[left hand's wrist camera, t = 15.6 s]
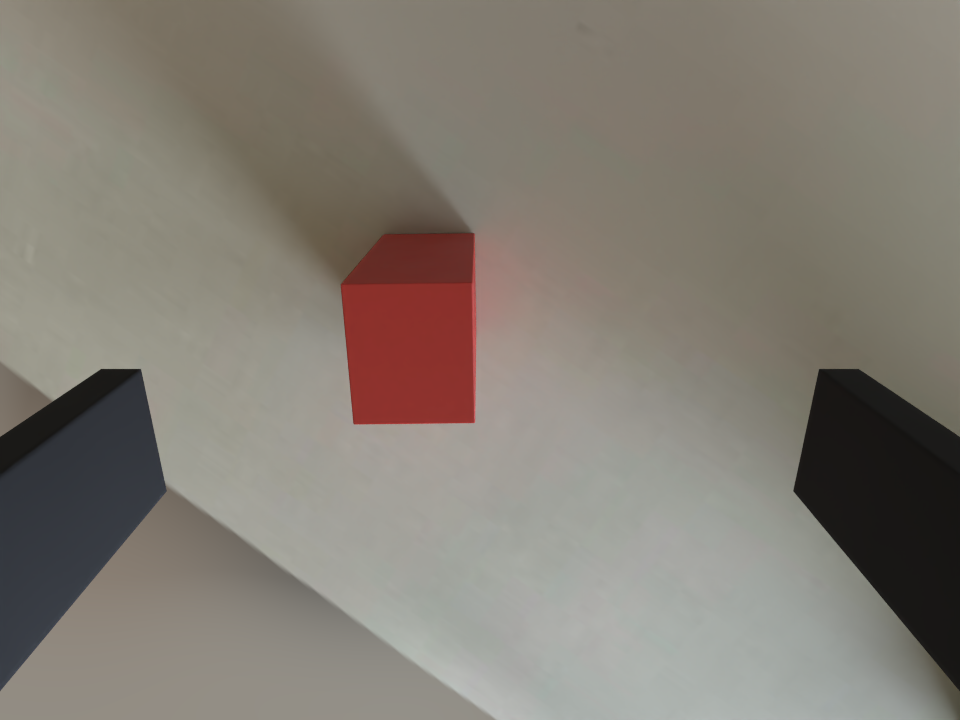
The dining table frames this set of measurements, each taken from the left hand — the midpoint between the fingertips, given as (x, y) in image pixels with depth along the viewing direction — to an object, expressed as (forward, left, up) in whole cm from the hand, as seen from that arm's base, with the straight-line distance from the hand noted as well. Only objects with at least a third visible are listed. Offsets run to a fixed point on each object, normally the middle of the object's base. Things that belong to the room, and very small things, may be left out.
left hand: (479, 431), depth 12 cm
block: (0, -4, -23) cm, 23 cm away
